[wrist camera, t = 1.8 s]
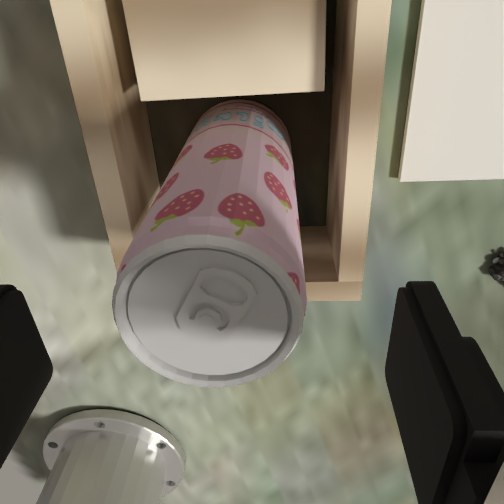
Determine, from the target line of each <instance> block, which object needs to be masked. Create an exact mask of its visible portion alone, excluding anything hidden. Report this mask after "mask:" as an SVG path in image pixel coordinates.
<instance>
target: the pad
mask: <svg viewBox="0 0 504 504" xmlns="http://www.w3.org/2000/svg"><path fill="white" fill-rule="evenodd" d="M398 179H399V181H400V182H407V181H444V180H481V179H504V0H422V3H421V10H420V18H419V25H418V33H417V40H416V48H415V55H414V63H413V70H412V77H411V85H410V92H409V100H408V107H407V115H406V122H405V130H404V137H403V145H402V152H401V159H400V167H399V174H398Z"/></svg>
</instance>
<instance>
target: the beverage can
mask: <svg viewBox="0 0 504 504" xmlns="http://www.w3.org/2000/svg"><path fill="white" fill-rule="evenodd" d="M306 303H307V295H306V285H305V276H304V266H303V256H302V246H301V237H300V227H299V217H298V207H297V197H296V188H295V178H294V168H293V158H292V149H291V141H290V137H289V134H288V131H287V129H286V127H285V125H284V124H283V122H282V120H281V119H280V118H279V117H278V116H277V115H276V114H275V113H274V112H273V111H272V110H270V109H269V108H267V107H266V106H264V105H262V104H260V103H257V102H255V101H250V100H244V99H237V100H228V101H225V102H221V103H219V104H217V105H215V106H213V107H211V108H210V109H209V110H208V111H206V112H205V113H204V114H203V115H202V116H201V118H200V119H199V120H198V122H197V123H196V125H195V126H194V128H193V130H192V132H191V134H190V136H189V138H188V139H187V141H186V143H185V145H184V147H183V149H182V150H181V152H180V154H179V156H178V158H177V160H176V161H175V163H174V165H173V167H172V169H171V171H170V172H169V174H168V176H167V178H166V180H165V182H164V183H163V185H162V187H161V189H160V191H159V193H158V194H157V196H156V198H155V200H154V202H153V204H152V205H151V207H150V209H149V211H148V213H147V215H146V216H145V218H144V220H143V222H142V224H141V226H140V227H139V229H138V231H137V233H136V235H135V237H134V238H133V240H132V242H131V244H130V246H129V248H128V249H127V251H126V253H125V255H124V257H123V259H122V262H121V264H120V267H119V269H118V272H117V280H116V285H115V287H114V292H113V300H112V308H113V314H114V320H115V323H116V325H117V327H118V330H119V332H120V335H121V337H122V339H123V341H124V342H125V343H126V345H127V346H128V348H129V349H130V351H131V352H132V353H133V354H134V355H135V356H136V357H137V358H138V359H139V360H140V361H141V362H142V363H144V364H145V365H146V366H148V367H149V368H151V369H152V370H154V371H155V372H157V373H159V374H161V375H163V376H165V377H167V378H170V379H172V380H174V381H178V382H181V383H185V384H188V385H194V386H201V387H229V386H235V385H242V384H245V383H248V382H251V381H254V380H257V379H259V378H260V377H262V376H264V375H266V374H268V373H270V372H271V371H272V370H274V369H275V368H276V367H277V366H278V365H280V364H281V363H282V362H283V361H284V360H285V359H286V358H287V357H288V355H289V354H290V353H291V351H292V350H293V349H294V348H295V346H296V344H297V342H298V339H299V337H300V335H301V332H302V327H303V320H304V316H305V310H306Z"/></svg>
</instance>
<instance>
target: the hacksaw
mask: <svg viewBox="0 0 504 504" xmlns="http://www.w3.org/2000/svg"><path fill="white" fill-rule="evenodd" d="M499 255H500V257H499V258H498V257H496V258H494V259H493V261H492V262H493V263H495V264H494V265H492V266H491V267H490V268H489V272H490V274H491V275H492V276H493V278H494V280H497V281H503V282H504V255H503V254H502V253H501V252H500V253H499Z"/></svg>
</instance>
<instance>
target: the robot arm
mask: <svg viewBox="0 0 504 504" xmlns="http://www.w3.org/2000/svg"><path fill="white" fill-rule="evenodd" d="M52 373H53V366H52V363H51V360H50V358H49V355H48V353H47V351H46V348H45V346H44V343H43V341H42V338H41V336H40V334H39V331H38V329H37V326H36V324H35V322H34V319H33V317H32V314H31V312H30V310H29V307H28V305H27V302H26V300H25V297H24V295H23V293H22V292H21V291H19V290H17V289H16V287H14V286H13V285H0V468H1V467H2V465H3V463H4V461H5V460H6V458H7V456H8V454H9V453H10V451H11V449H12V447H13V445H14V444H15V442H16V440H17V438H18V436H19V435H20V433H21V431H22V429H23V427H24V426H25V424H26V422H27V420H28V419H29V417H30V415H31V413H32V411H33V410H34V408H35V406H36V404H37V402H38V401H39V399H40V397H41V395H42V393H43V392H44V390H45V388H46V386H47V385H48V383H49V381H50V379H51V377H52ZM385 376H386V382H387V386H388V390H389V393H390V397H391V401H392V405H393V409H394V412H395V416H396V420H397V424H398V428H399V431H400V435H401V439H402V443H403V446H404V450H405V454H406V458H407V462H408V465H409V469H410V473H411V477H412V481H413V484H414V488H415V492H416V496H417V500H418V503H419V504H504V392H503V390H502V388H501V386H500V384H499V382H498V381H497V379H496V377H495V375H494V373H493V371H492V369H491V367H490V366H489V364H488V362H487V360H486V358H485V356H484V354H483V353H482V351H481V349H480V347H479V345H478V344H477V342H476V341H475V339H473V338H472V337H462V336H461V334H460V332H459V330H458V328H457V326H456V324H455V322H454V320H453V318H452V316H451V314H450V312H449V310H448V308H447V306H446V304H445V302H444V300H443V298H442V296H441V294H440V292H439V290H438V288H437V286H436V284H435V283H434V282H433V281H409V282H407V284H406V287H401V288H399V289H398V292H397V298H396V304H395V311H394V317H393V323H392V329H391V335H390V341H389V347H388V353H387V359H386V365H385ZM42 452H43V457H44V461H45V463H46V465H47V467H48V468H49V470H50V471H51V472H50V474H49V476H48V478H47V481H46V483H45V485H44V487H43V489H42V492H41V494H40V496H39V498H38V500H37V502H36V504H160V499H161V498H162V497H164V496H165V495H167V494H169V493H171V492H172V491H173V490H174V489H175V488H176V487H178V485H179V484H180V482H181V480H182V478H183V474H184V469H185V461H186V460H185V455H184V451H183V449H182V448H181V446H180V444H179V443H178V441H177V440H176V439H175V438H174V437H173V435H171V434H170V433H169V432H168V431H167V430H165V429H164V428H163V427H161V426H160V425H158V424H156V423H155V422H153V421H151V420H148V419H146V418H144V417H141V416H139V415H135V414H132V413H128V412H124V411H118V410H108V409H95V410H85V411H81V412H77V413H73V414H70V415H68V416H66V417H64V418H62V419H61V420H59V421H58V422H57V423H55V424H54V426H53V427H52V428H51V430H50V431H49V433H48V435H47V437H46V439H45V441H44V444H43V450H42Z"/></svg>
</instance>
